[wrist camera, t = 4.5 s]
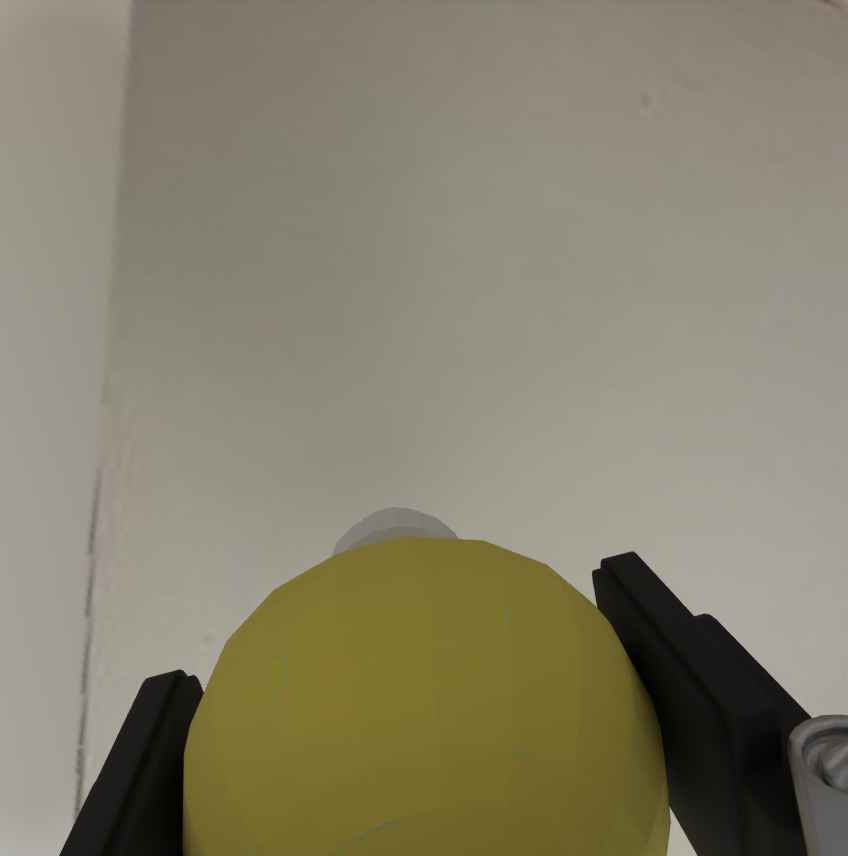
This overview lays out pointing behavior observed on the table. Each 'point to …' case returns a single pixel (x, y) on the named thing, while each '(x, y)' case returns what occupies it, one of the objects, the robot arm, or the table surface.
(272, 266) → the table surface
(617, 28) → the table surface
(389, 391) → the table surface
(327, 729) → the light bulb
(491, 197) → the table surface
